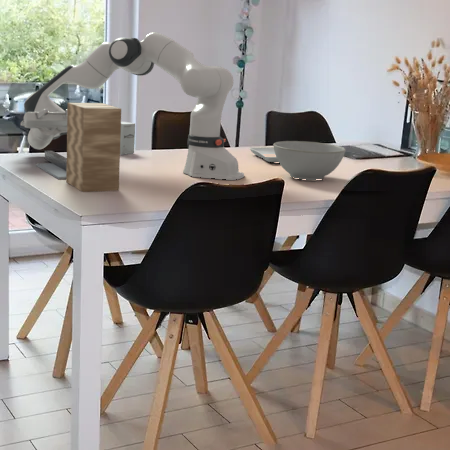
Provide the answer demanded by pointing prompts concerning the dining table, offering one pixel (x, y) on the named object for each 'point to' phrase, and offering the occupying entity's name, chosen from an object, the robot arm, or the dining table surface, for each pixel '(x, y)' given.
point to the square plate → (262, 151)
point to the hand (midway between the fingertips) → (57, 111)
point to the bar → (56, 159)
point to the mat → (53, 170)
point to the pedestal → (93, 146)
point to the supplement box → (127, 138)
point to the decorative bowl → (308, 158)
